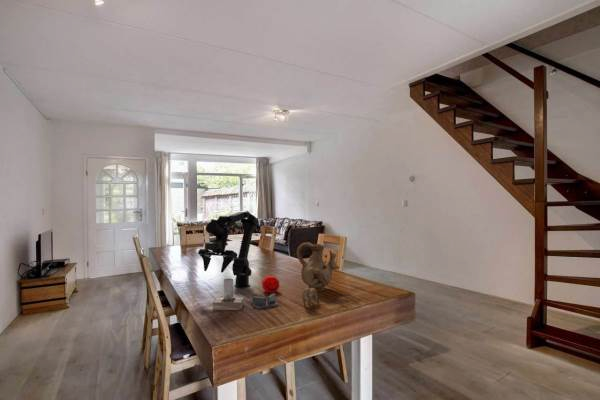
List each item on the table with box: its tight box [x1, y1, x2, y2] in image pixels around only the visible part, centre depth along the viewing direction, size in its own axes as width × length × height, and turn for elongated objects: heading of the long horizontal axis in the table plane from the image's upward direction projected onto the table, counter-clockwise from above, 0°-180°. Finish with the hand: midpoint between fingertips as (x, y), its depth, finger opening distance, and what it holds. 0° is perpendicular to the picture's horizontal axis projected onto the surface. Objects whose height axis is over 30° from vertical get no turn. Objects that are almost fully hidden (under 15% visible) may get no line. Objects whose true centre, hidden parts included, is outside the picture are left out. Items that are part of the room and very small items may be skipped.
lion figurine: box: [301, 287, 319, 308], centre depth 137 cm, size 15×5×9 cm, turn 163°
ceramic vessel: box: [296, 241, 340, 293], centre depth 161 cm, size 18×19×25 cm
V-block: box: [249, 293, 279, 310], centre depth 138 cm, size 10×11×4 cm
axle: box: [223, 277, 234, 302], centre depth 134 cm, size 4×4×12 cm
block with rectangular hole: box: [212, 296, 245, 311], centre depth 134 cm, size 8×12×3 cm, turn 90°
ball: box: [261, 275, 280, 294], centre depth 157 cm, size 8×8×8 cm
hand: (213, 271), depth 143 cm, fingers open, 9 cm apart
